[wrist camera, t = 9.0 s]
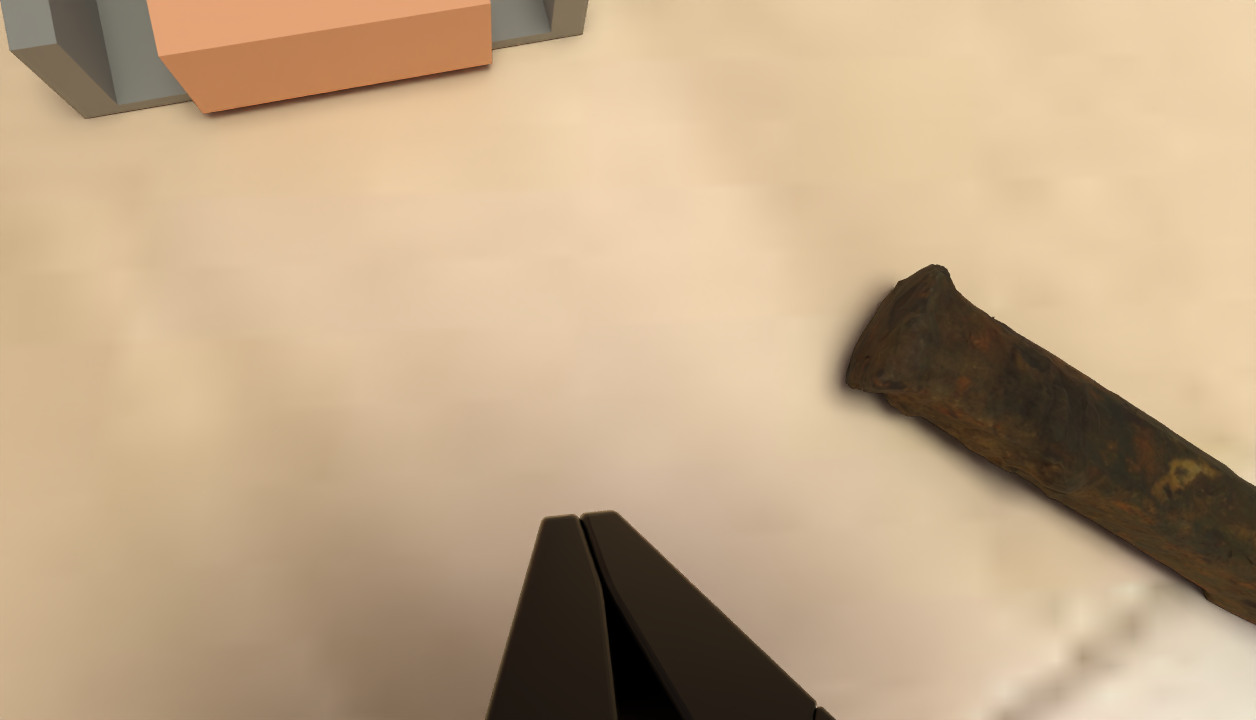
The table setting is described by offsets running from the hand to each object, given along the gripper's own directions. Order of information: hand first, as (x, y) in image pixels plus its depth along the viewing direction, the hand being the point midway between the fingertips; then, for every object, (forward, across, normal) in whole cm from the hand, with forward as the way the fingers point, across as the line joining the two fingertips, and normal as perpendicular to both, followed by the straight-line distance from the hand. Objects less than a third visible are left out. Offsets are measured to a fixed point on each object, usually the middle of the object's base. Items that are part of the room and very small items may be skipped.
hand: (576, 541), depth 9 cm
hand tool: (+9, -19, +9) cm, 23 cm away
